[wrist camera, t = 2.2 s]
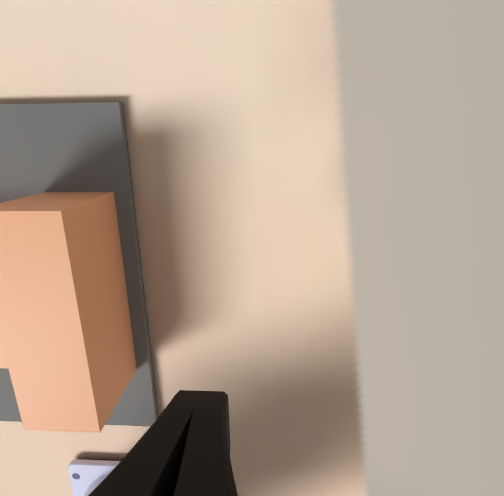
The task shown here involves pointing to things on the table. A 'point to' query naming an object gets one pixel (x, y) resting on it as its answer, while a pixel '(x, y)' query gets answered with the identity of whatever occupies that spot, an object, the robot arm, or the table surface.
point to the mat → (81, 180)
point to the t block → (64, 309)
